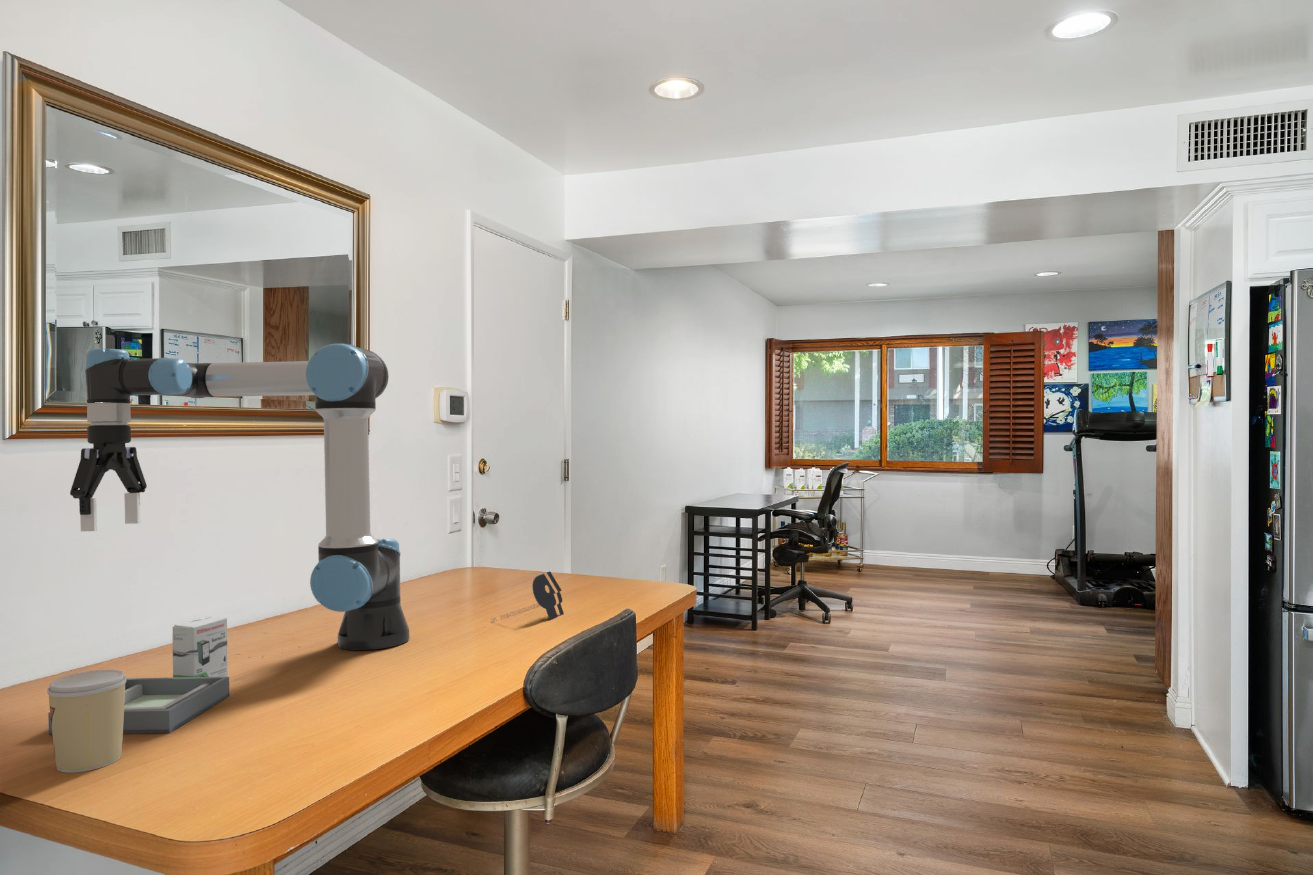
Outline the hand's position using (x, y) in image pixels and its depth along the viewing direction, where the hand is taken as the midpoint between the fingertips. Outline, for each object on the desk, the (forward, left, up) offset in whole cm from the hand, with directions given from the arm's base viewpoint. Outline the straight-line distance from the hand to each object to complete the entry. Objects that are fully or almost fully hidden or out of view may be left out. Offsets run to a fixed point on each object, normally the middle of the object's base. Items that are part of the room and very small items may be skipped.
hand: (111, 527), depth 171 cm
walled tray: (-27, +33, -28) cm, 51 cm away
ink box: (-27, +16, -28) cm, 42 cm away
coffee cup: (-31, +53, -28) cm, 67 cm away
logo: (-83, -34, -28) cm, 94 cm away
